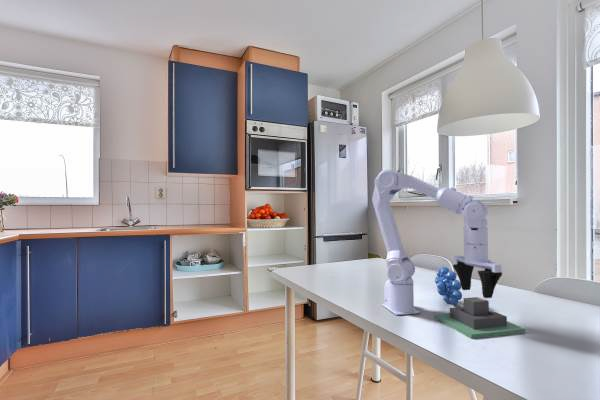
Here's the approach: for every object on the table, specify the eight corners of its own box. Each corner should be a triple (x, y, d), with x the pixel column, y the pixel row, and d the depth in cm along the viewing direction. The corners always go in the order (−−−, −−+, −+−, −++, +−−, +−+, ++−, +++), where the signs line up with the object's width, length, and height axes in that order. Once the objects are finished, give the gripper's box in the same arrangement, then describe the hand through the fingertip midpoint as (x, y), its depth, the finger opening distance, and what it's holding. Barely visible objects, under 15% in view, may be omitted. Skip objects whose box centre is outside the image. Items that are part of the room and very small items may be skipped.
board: (434, 318, 88) (434, 305, 88) (482, 313, 91) (481, 301, 91) (471, 338, 74) (470, 323, 74) (525, 332, 77) (525, 318, 77)
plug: (463, 323, 84) (463, 297, 84) (478, 322, 85) (478, 296, 85) (474, 328, 80) (473, 301, 80) (489, 327, 81) (488, 300, 81)
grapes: (425, 299, 106) (425, 264, 106) (442, 297, 107) (441, 263, 107) (449, 310, 94) (449, 271, 95) (467, 308, 96) (467, 270, 96)
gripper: (511, 246, 77) (512, 300, 76) (468, 240, 91) (469, 285, 90) (487, 247, 75) (488, 302, 75) (447, 241, 89) (448, 287, 89)
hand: (476, 293), depth 83 cm, fingers open, 7 cm apart
